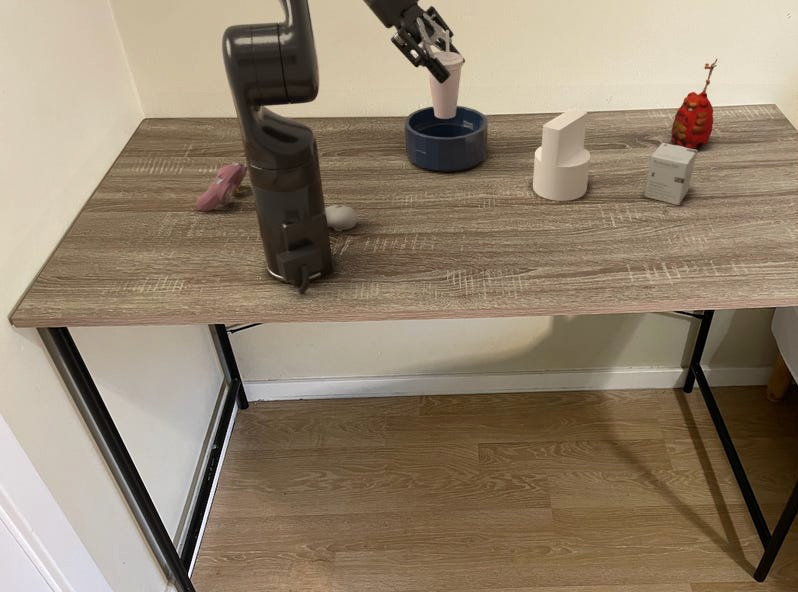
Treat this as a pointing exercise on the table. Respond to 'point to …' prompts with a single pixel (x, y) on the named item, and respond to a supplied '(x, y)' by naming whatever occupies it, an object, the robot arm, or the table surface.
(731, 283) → the table surface
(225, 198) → the video game controller
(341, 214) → the white head bust
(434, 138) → the bowl
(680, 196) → the product carton
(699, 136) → the red clay folk toy
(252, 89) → the robot arm
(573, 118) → the base with upright slab
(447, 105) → the smoothie
